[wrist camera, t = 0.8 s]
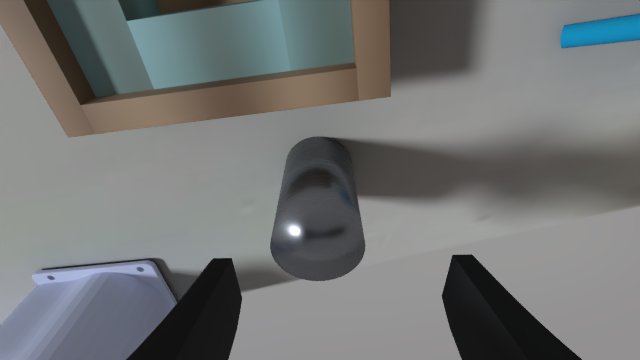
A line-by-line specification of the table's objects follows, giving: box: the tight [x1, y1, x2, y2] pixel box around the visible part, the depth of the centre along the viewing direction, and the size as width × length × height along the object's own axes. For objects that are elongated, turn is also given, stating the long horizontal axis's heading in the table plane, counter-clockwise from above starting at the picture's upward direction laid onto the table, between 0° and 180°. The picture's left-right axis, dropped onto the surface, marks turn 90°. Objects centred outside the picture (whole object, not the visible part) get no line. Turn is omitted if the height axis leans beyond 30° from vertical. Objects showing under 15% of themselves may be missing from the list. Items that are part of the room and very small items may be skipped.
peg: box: [270, 137, 365, 281], centre depth 16 cm, size 4×4×7 cm
